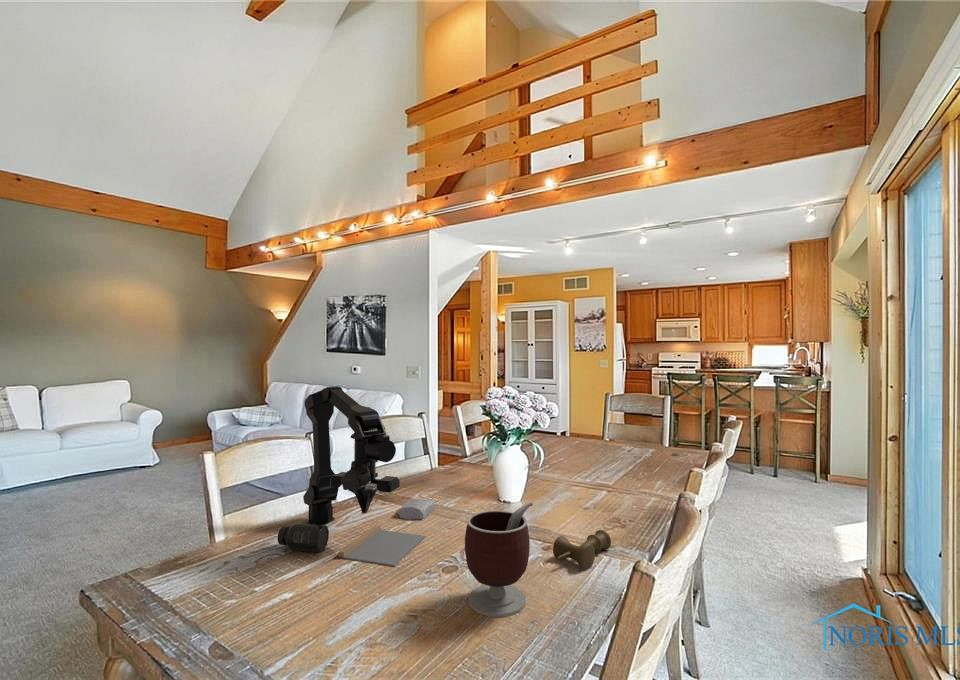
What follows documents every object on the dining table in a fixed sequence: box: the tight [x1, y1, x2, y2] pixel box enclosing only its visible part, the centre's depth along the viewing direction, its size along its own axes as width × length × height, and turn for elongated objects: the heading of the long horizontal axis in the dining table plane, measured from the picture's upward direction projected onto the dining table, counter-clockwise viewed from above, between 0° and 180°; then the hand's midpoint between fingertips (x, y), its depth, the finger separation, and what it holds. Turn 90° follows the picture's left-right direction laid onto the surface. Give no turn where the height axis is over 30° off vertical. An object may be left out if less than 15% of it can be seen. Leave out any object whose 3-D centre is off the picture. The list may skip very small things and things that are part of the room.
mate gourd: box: [464, 501, 533, 618], centre depth 102 cm, size 16×14×20 cm
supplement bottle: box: [276, 522, 330, 553], centre depth 127 cm, size 7×7×12 cm
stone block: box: [397, 497, 435, 520], centre depth 155 cm, size 12×5×10 cm
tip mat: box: [337, 524, 426, 567], centre depth 129 cm, size 16×19×2 cm
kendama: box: [552, 529, 612, 571], centre depth 123 cm, size 6×10×20 cm
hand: (364, 513), depth 131 cm, fingers closed
